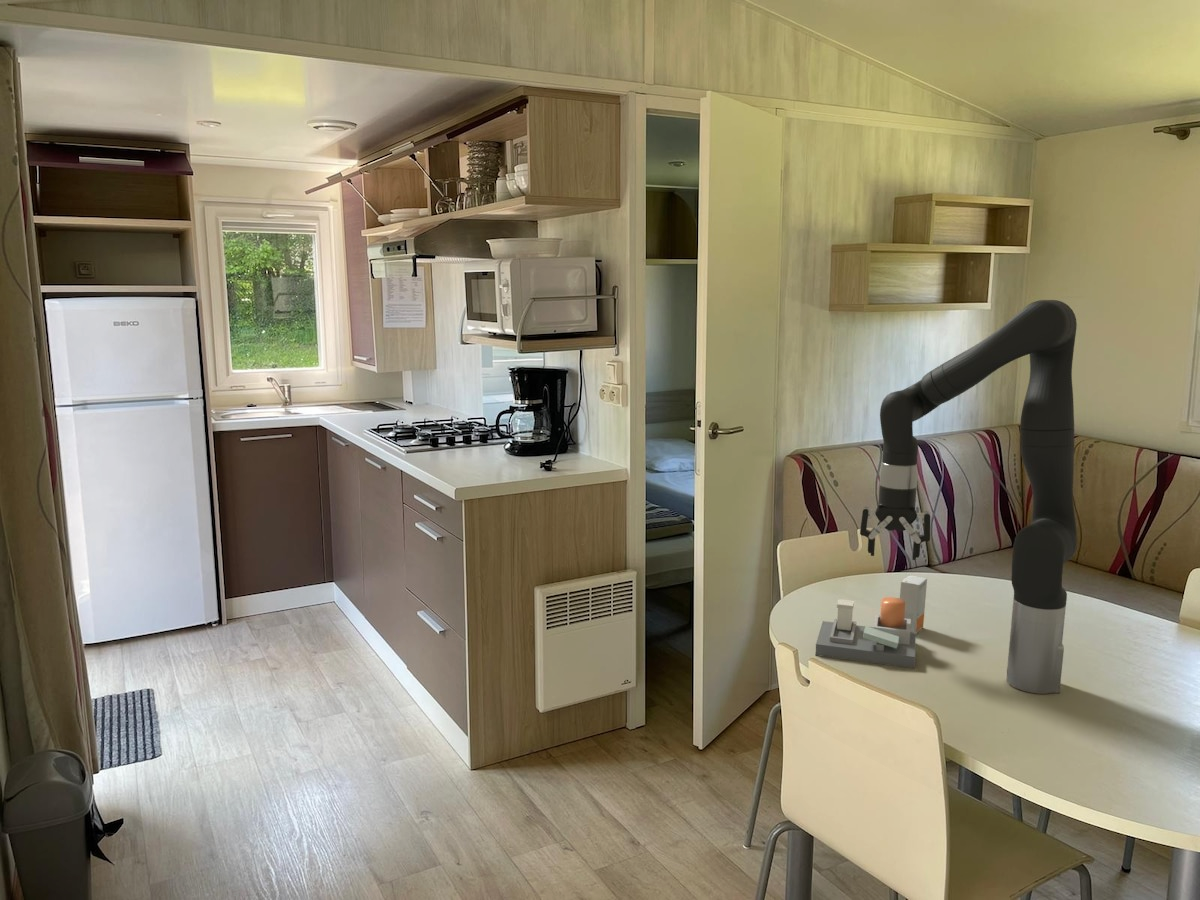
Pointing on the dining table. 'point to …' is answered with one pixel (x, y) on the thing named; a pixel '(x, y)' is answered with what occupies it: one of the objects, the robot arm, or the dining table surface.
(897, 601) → the orange piece
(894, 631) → the panel
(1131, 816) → the dining table surface
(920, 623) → the skincare box
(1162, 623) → the dining table surface
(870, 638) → the block
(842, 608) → the lever
